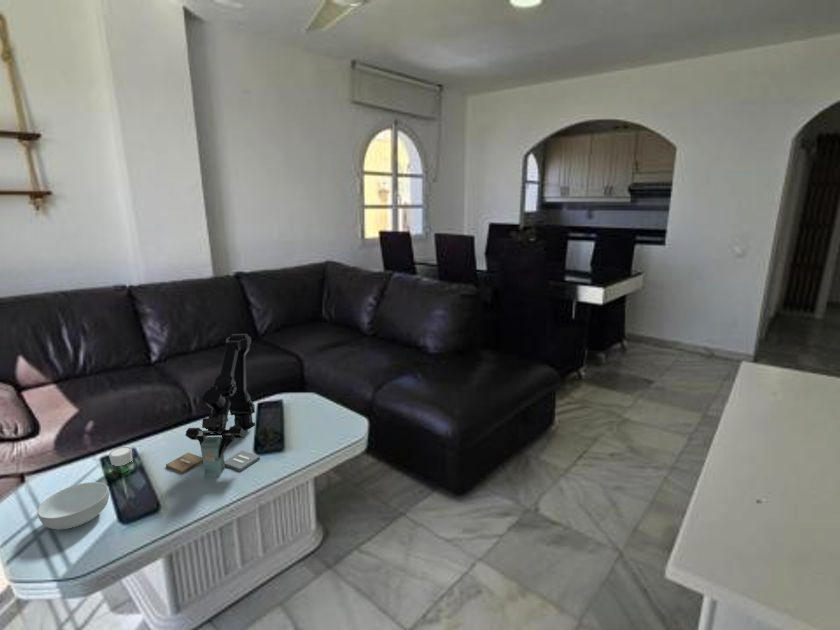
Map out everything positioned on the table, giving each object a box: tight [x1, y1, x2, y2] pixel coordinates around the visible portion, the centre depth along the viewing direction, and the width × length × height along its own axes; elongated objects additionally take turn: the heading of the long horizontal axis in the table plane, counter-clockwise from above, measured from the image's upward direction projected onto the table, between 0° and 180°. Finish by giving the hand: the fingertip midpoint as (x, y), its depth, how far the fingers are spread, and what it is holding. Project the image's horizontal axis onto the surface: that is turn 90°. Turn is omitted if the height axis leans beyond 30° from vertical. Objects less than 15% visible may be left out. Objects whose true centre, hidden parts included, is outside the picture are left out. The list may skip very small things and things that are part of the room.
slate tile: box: [224, 450, 261, 472], centre depth 167 cm, size 9×9×1 cm
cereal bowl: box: [37, 481, 110, 530], centre depth 136 cm, size 17×17×7 cm
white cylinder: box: [108, 446, 133, 466], centre depth 162 cm, size 7×7×7 cm
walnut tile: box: [165, 452, 203, 474], centre depth 165 cm, size 9×9×1 cm
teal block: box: [200, 436, 226, 478], centre depth 159 cm, size 5×5×12 cm
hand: (211, 457), depth 157 cm, fingers closed on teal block, 5 cm apart
